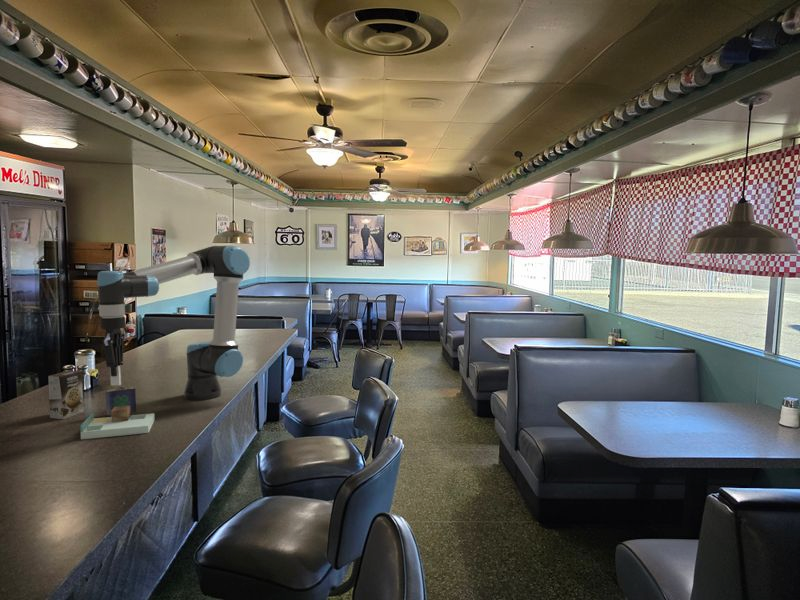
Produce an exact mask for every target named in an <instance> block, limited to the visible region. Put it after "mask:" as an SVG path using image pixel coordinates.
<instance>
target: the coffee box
mask: <svg viewBox="0 0 800 600" xmlns="http://www.w3.org/2000/svg"><path fill="white" fill-rule="evenodd" d="M82 372H83V371H80V370H67V371H62V372H59V373H55V374H50V375H48V400H49V401H48V402H49V418H50V419H58V420H65V419H68V418H71V417H73V416H77V415H79V414H81V413H84V394H83V393H84V392H83V373H82Z"/></svg>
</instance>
